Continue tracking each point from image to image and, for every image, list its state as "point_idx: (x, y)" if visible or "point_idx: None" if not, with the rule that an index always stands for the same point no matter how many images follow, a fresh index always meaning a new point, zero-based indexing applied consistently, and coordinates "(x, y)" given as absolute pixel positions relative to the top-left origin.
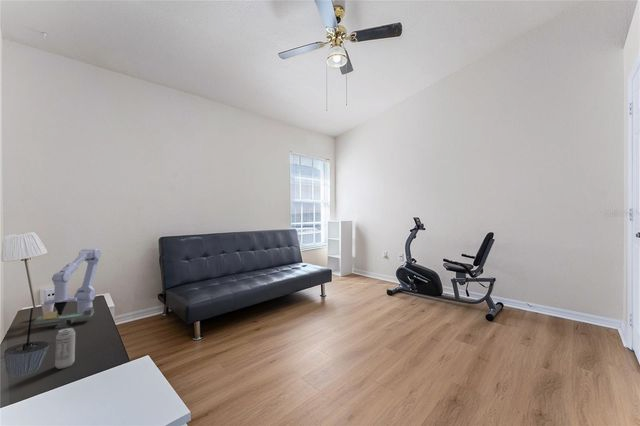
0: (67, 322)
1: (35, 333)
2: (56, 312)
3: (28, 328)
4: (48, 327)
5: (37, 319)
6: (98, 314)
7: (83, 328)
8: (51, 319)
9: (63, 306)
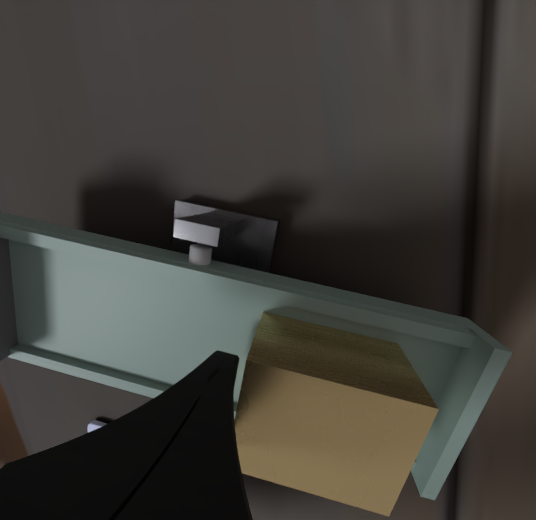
0: None
1: (423, 180)
2: (254, 400)
3: None
4: None
5: (466, 388)
6: (49, 404)
7: (52, 29)
8: (311, 303)
9: (78, 438)
